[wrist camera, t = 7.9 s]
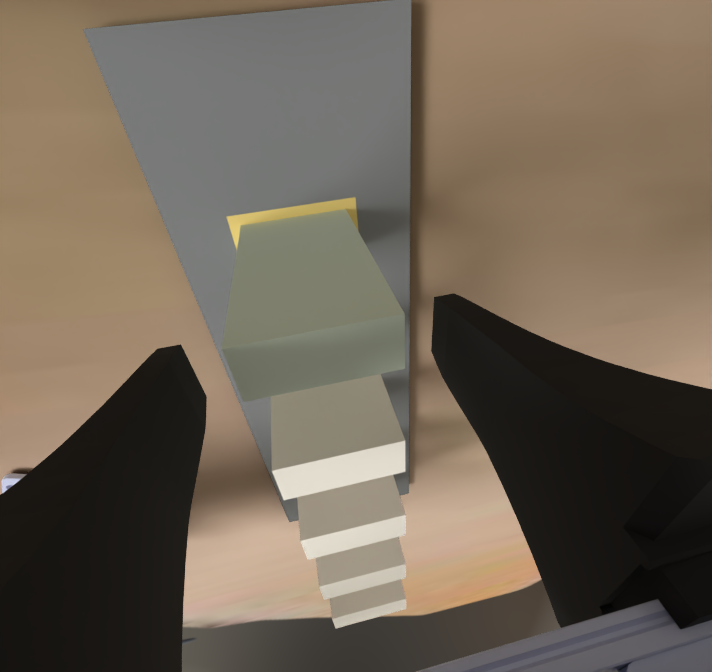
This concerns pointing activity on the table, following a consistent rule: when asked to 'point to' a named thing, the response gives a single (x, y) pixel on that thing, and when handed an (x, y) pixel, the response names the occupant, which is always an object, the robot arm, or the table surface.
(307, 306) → the domino
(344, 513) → the domino
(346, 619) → the domino
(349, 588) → the domino
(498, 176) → the table surface
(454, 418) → the table surface
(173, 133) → the domino mat
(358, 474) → the domino
